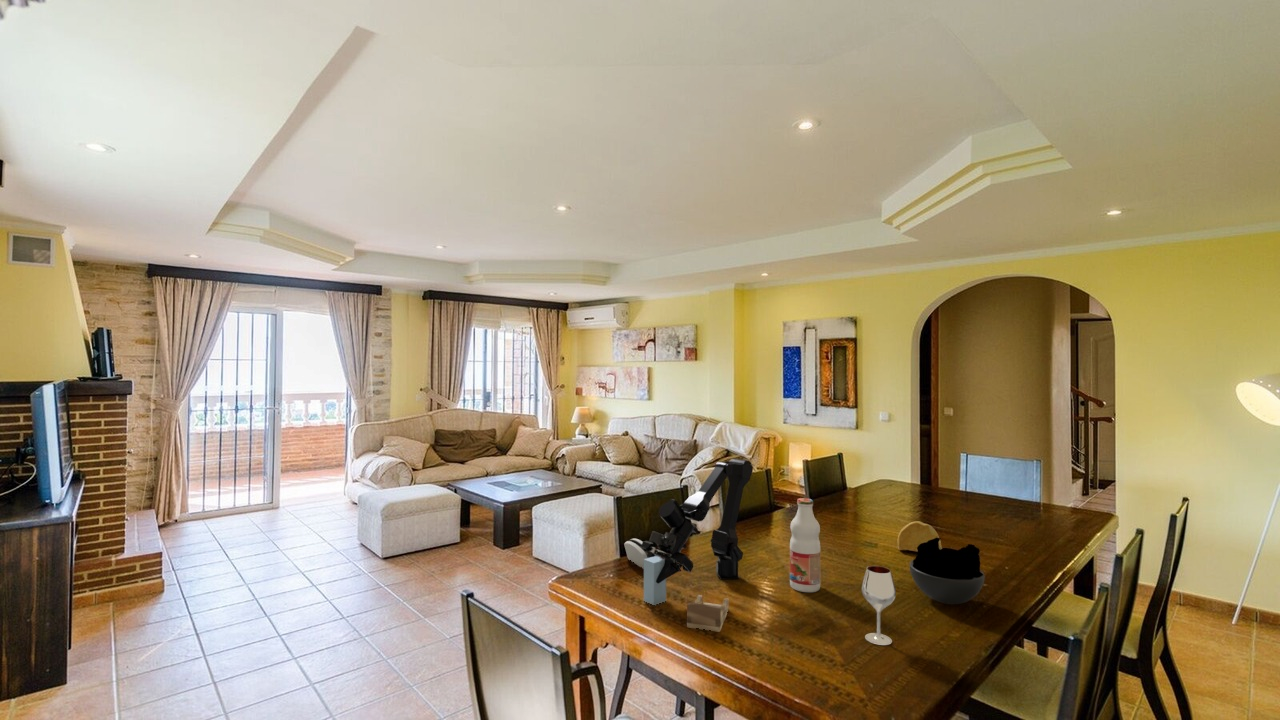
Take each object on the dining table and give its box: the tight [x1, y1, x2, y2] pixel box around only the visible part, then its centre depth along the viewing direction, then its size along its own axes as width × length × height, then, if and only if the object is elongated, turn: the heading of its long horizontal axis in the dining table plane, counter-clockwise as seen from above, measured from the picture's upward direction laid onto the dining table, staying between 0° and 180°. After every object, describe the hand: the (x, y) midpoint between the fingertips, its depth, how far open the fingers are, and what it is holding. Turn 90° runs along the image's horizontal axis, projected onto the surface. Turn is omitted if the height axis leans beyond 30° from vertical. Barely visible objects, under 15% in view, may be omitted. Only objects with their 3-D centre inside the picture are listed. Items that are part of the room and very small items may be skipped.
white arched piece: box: [623, 538, 649, 570], centre depth 204 cm, size 17×5×10 cm, turn 28°
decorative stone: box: [896, 520, 943, 553], centre depth 222 cm, size 13×15×15 cm
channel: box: [686, 594, 730, 633], centre depth 161 cm, size 15×9×6 cm, turn 162°
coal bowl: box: [909, 537, 986, 605], centre depth 173 cm, size 20×20×19 cm
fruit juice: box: [789, 497, 821, 593], centre depth 184 cm, size 9×9×28 cm
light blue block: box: [643, 556, 667, 606], centre depth 172 cm, size 5×4×12 cm
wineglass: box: [861, 565, 897, 646], centre depth 149 cm, size 8×8×18 cm
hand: (651, 580), depth 171 cm, fingers closed on light blue block, 4 cm apart
